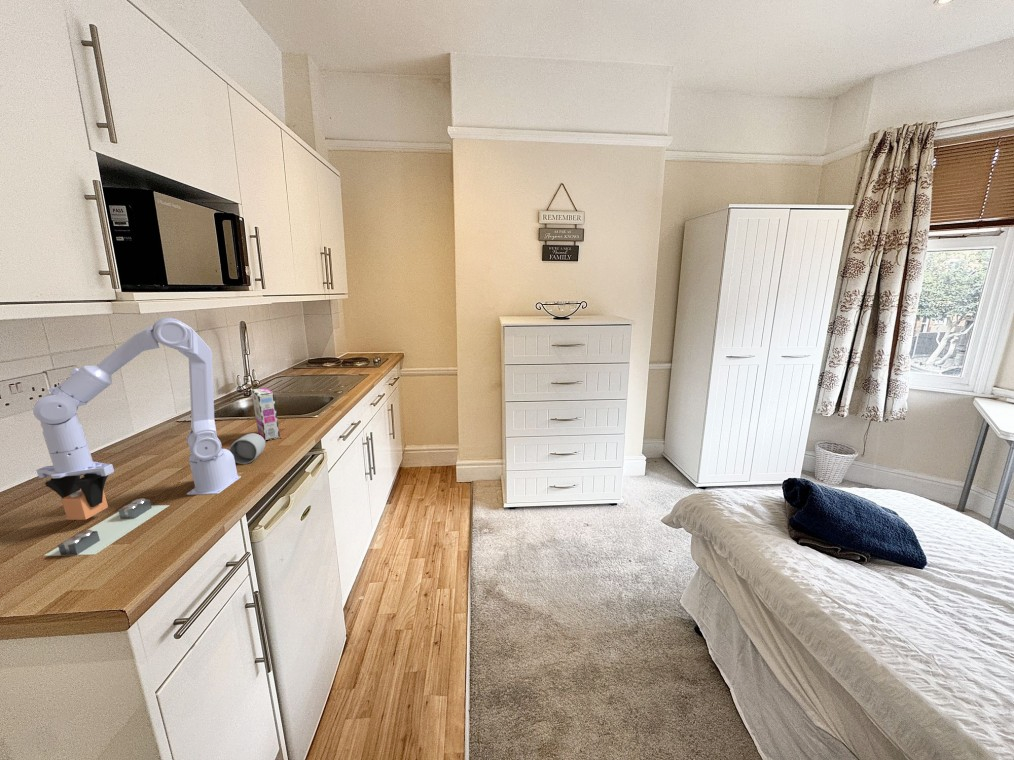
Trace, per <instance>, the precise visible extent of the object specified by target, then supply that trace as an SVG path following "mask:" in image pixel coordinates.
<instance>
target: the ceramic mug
mask: <svg viewBox="0 0 1014 760" xmlns="http://www.w3.org/2000/svg"><path fill="white" fill-rule="evenodd" d="M265 448H266V441H265V440H264V438H263V437H262V436H261V435H259V433H256V432H255V433H254V432H253V433H246V434H244V435H242V436H241V437H240V438H238V439H236V440H235V441H233V442H232V443H231V445H230V446H229V448H228V450H229V451H230V452H231V453H232V454H233V456H234V459H235V464H236V463H237V464H240V465H247V464H251V463H252V462H253V461H255V460H256V459H257V458H258V457H259V456H260V455H261V454H262V453H263V451H265Z"/></svg>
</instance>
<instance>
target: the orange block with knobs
mask: <svg viewBox="0 0 1014 760" xmlns="http://www.w3.org/2000/svg"><path fill="white" fill-rule="evenodd" d="M61 502H62V505H63V509H64V513H65V516H66V519H67V521H70V520H73V521H75V520H78V521H79V520H81V521H82V520H87V519H89V518H91V517H93V516H95V515H97V514H99V513H100V512H103V511H104V510H106V509H107V508H109V505H108V502H107V498H106V494H105V490H104V489H103V499H102V503H100V504H98V505H97V506H95V507H90V505H89V504H88V502H87V500H86V497H85V495H84V493H83V492H82V490H81V489H80V490H79V491H77V492H75V493H72V494H71V495H69V496H67V497H64V498H61Z"/></svg>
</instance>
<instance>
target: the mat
mask: <svg viewBox="0 0 1014 760" xmlns="http://www.w3.org/2000/svg"><path fill="white" fill-rule="evenodd" d="M151 506H152V508H151V509H149V510H148V511H146V512H144V513H143V514H141V515H140V516H138V517H137V518H135V519H120V515H119V511H117V512H116V513H113V514H112V515H110V516H109V517H107V518H104V520H102V521H100V522H98V523H97V524H95V525H93V526H92V527H90V528H88V529H87V530H92V531H97V532H98V535H99V539H100V541H98V542H97V543H95V544H94V545H92V546H91V547H89V548H87V549H86V550H84V551H83V552H81V553H79V554H78V555H77V556H91V555H93V556H94V555H97V554H98V553H99V552H101V551H102V550H104V549H105V548H107V547H108V546H110V545H112V544H113V543H115V542H116V541H118V540H120V539H121V538H122V537H124V536H126V535H127V534H128V533H130V532H131V531H133V530H135V529H136V528H137V527H139V526H141V525H143V524H144V523H146V522H147V521H148V520H150V519H151V518H153V517H155V516H156V515H158V514H159V513H161V512H162V511H163V510H165V509H167V508H168V507H170V505H167V504H165V505H161V504H160V505H151ZM43 556H44V557H46V556H47V557H48V556H49V557H51V556H52V557H53V556H55V557H56V556H58V557H59V556H62V555H61V554H60V551H59V548H58V546H57V547H56V548H54V549H52V550H50V551H49V552H47V553H45V554H44V555H43Z"/></svg>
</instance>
